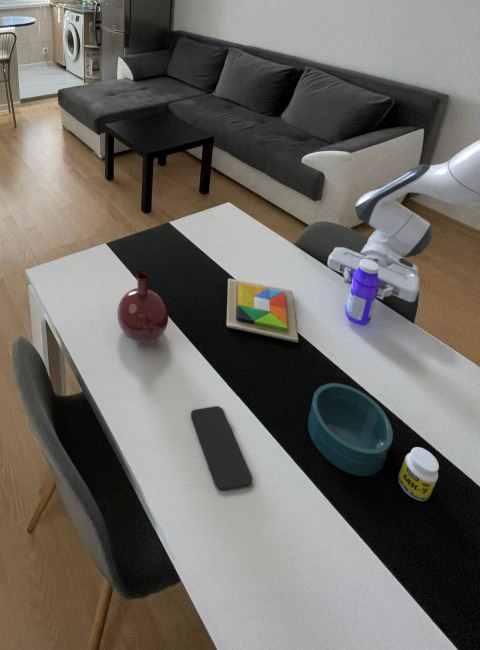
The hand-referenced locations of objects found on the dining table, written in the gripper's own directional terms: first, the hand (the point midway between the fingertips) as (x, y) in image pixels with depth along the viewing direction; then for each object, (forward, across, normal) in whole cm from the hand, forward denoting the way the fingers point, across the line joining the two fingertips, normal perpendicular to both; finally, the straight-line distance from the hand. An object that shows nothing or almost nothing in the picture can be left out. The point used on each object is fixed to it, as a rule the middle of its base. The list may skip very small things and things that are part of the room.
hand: (363, 289), depth 109 cm
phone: (+52, -10, +11) cm, 54 cm away
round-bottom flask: (+41, -39, +11) cm, 58 cm away
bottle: (-1, 0, +10) cm, 10 cm away
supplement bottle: (+33, +19, +12) cm, 40 cm away
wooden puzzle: (+13, -20, +12) cm, 26 cm away
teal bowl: (+33, +7, +12) cm, 36 cm away
